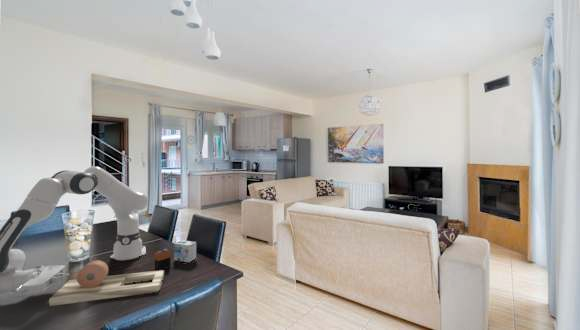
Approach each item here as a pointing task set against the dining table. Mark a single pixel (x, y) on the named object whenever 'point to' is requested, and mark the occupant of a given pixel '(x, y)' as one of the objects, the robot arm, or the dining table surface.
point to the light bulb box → (185, 251)
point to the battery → (162, 259)
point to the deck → (108, 288)
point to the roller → (92, 274)
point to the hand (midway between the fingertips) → (68, 276)
